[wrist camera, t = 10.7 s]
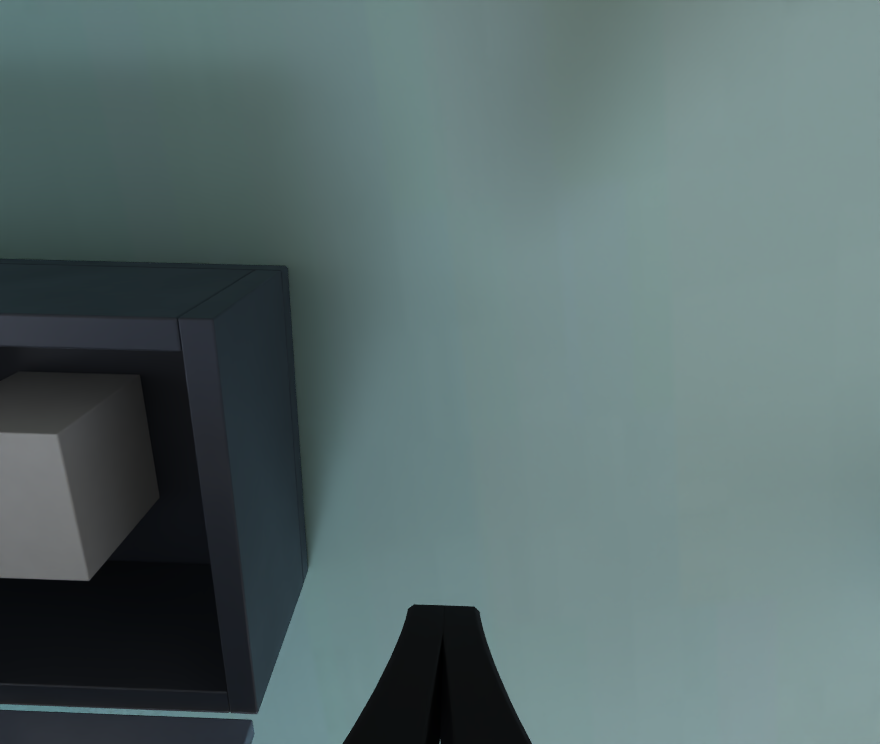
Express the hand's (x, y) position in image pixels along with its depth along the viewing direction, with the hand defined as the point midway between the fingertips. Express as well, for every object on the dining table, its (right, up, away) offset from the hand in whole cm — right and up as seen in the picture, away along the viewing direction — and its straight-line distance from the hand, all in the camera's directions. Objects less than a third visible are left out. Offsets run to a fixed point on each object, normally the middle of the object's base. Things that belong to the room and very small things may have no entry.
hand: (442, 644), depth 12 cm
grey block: (-12, +3, +8) cm, 15 cm away
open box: (-12, +4, +9) cm, 15 cm away
